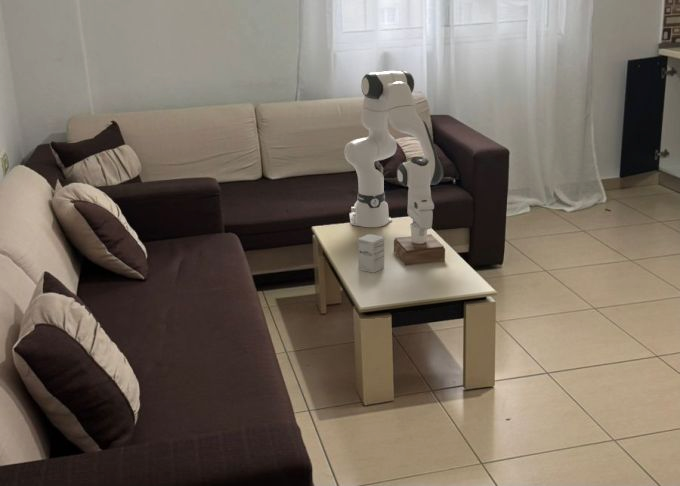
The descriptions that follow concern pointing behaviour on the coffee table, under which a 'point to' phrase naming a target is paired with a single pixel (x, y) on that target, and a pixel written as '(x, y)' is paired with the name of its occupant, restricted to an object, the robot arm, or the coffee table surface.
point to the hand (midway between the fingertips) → (418, 233)
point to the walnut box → (419, 250)
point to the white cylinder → (417, 234)
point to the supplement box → (371, 253)
